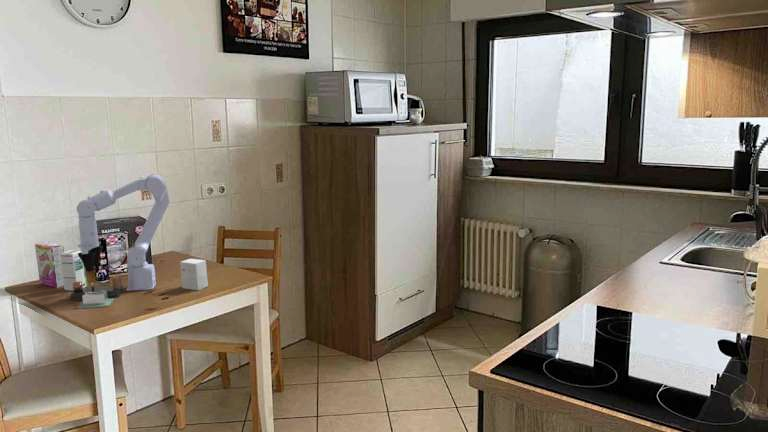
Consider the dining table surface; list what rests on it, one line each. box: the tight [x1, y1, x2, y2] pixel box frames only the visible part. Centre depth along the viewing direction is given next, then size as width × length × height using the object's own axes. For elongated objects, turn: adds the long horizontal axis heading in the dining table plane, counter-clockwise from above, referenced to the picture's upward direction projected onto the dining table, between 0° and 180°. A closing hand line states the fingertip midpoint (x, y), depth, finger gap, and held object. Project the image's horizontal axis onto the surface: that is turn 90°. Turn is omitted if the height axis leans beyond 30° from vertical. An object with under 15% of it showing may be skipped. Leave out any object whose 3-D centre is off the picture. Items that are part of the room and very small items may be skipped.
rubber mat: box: [76, 297, 115, 310], centre depth 205 cm, size 10×8×1 cm
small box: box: [179, 258, 209, 291], centre depth 221 cm, size 8×6×10 cm
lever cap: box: [82, 290, 109, 306], centre depth 204 cm, size 7×4×4 cm, turn 102°
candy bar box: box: [34, 241, 65, 289], centre depth 227 cm, size 11×5×16 cm, turn 61°
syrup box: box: [60, 249, 88, 292], centre depth 222 cm, size 6×6×14 cm
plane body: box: [70, 273, 124, 301], centre depth 213 cm, size 16×7×7 cm, turn 101°
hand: (92, 268), depth 216 cm, fingers open, 7 cm apart
